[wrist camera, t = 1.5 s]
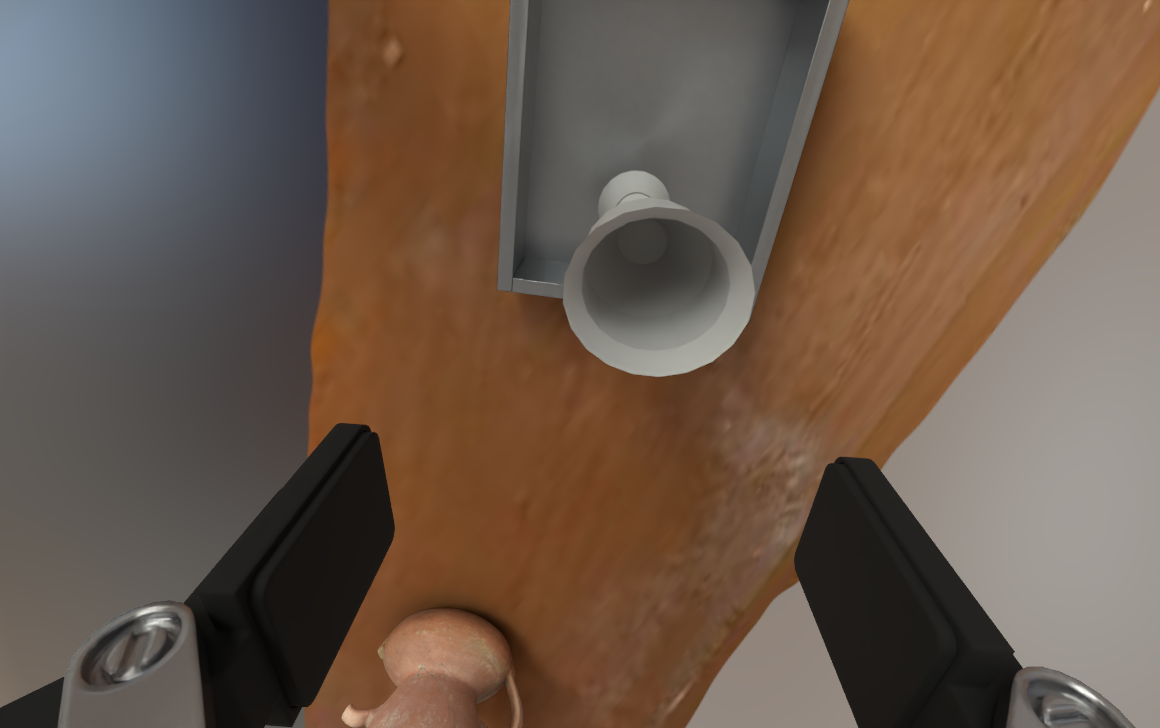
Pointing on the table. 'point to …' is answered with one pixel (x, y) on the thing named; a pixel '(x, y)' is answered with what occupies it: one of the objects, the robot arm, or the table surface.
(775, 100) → the grey rectangular tray
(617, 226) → the chalice
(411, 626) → the ceramic jug
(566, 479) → the table surface
